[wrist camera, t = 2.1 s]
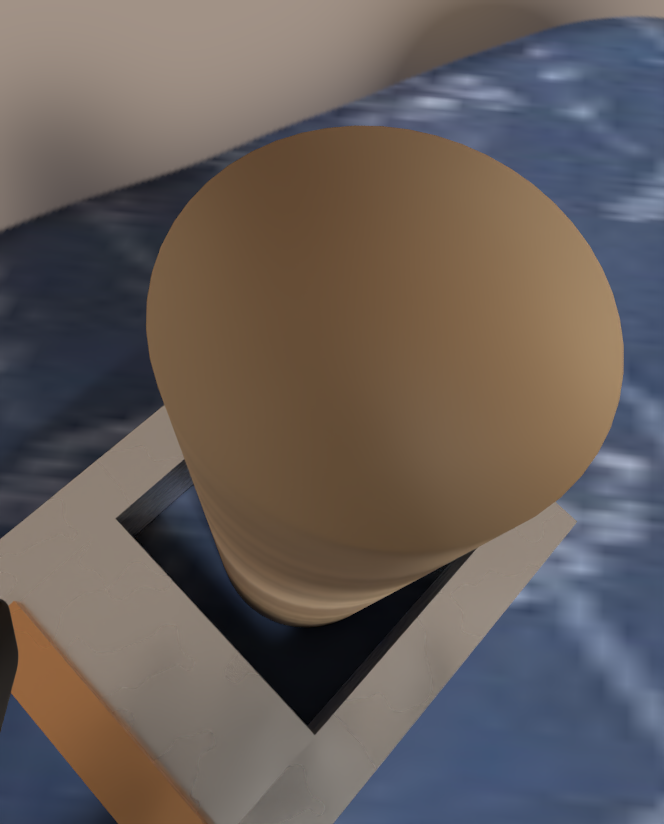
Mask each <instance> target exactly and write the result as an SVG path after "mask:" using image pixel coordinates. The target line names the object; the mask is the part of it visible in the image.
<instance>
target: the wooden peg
mask: <svg viewBox="0 0 664 824" xmlns="http://www.w3.org/2000/svg"><path fill="white" fill-rule="evenodd" d="M146 332H147V340H148V348H149V355H150V361H151V364H152V368H153V371H154V375H155V378H156V382H157V385H158V389H159V391H160V394H161V397H162V399H163V402H164V405H165V408H166V410H167V413H168V416H169V418H170V421H171V424H172V427H173V429H174V432H175V435H176V437H177V440H178V443H179V445H180V448H181V451H182V454H183V456H184V459H185V462H186V464H187V467H188V470H189V473H190V475H191V478H192V481H193V483H194V486H195V489H196V492H197V494H198V497H199V500H200V502H201V505H202V508H203V510H204V513H205V516H206V519H207V521H208V524H209V527H210V529H211V532H212V535H213V538H214V540H215V543H216V546H217V548H218V551H219V554H220V557H221V559H222V562H223V565H224V567H225V570H226V573H227V575H228V577H229V579H230V582H231V583H232V585H233V587H234V588H235V590H236V591H237V593H238V594H239V595H240V596H241V598H242V599H243V600H244V601H245V602H246V603H247V604H248V605H249V606H250V607H251V608H252V609H254V610H255V611H257V612H258V613H259V614H261V615H262V616H264V617H266V618H268V619H270V620H272V621H274V622H277V623H280V624H283V625H287V626H292V627H301V628H312V627H321V626H325V625H330V624H333V623H335V622H338V621H341V620H343V619H345V618H347V617H348V616H350V615H352V614H354V613H356V612H358V611H360V610H362V609H363V608H365V607H367V606H369V605H371V604H373V603H375V602H377V601H378V600H380V599H382V598H384V597H386V596H388V595H390V594H391V593H393V592H395V591H397V590H399V589H401V588H403V587H405V586H406V585H408V584H410V583H412V582H414V581H416V580H418V579H420V578H421V577H423V576H425V575H427V574H429V573H431V572H433V571H435V570H436V569H438V568H440V567H442V566H444V565H446V564H448V563H450V562H451V561H453V560H455V559H457V558H459V557H461V556H463V555H465V554H466V553H468V552H470V551H472V550H474V549H476V548H478V547H479V546H481V545H483V544H485V543H487V542H489V541H491V540H493V539H494V538H496V537H498V536H500V535H502V534H504V533H506V532H508V531H509V530H511V529H513V528H515V527H517V526H519V525H521V524H522V523H524V522H526V521H528V520H530V519H532V518H534V517H535V516H537V515H538V514H539V513H541V512H542V511H543V510H545V509H546V508H547V507H549V506H550V505H551V504H553V503H554V502H555V501H557V500H558V499H559V498H561V497H562V496H563V495H564V494H565V493H566V491H567V490H568V489H569V488H570V487H571V486H572V485H573V484H574V483H575V482H576V481H577V480H578V479H579V478H580V477H581V476H582V475H583V473H584V472H585V470H586V469H587V468H588V466H589V465H590V463H591V462H592V461H593V459H594V458H595V456H596V455H597V453H598V452H599V450H600V448H601V446H602V444H603V442H604V440H605V438H606V436H607V434H608V432H609V430H610V428H611V425H612V422H613V418H614V415H615V412H616V409H617V406H618V403H619V398H620V392H621V385H622V379H623V339H622V331H621V324H620V318H619V314H618V311H617V307H616V304H615V300H614V296H613V293H612V291H611V288H610V286H609V283H608V281H607V279H606V276H605V274H604V271H603V269H602V267H601V265H600V264H599V262H598V260H597V258H596V257H595V255H594V253H593V251H592V250H591V248H590V246H589V244H588V243H587V242H586V240H585V239H584V238H583V236H582V235H581V234H580V232H579V231H578V230H577V228H576V227H575V225H574V224H573V223H572V222H571V221H570V220H569V218H568V217H567V216H566V215H565V214H564V213H563V212H562V211H561V210H560V209H559V208H558V207H557V205H556V204H555V203H554V202H553V201H551V200H550V199H549V198H548V197H547V196H546V195H545V194H543V193H542V192H541V191H540V190H539V189H538V188H537V187H535V186H534V185H533V184H532V183H530V182H529V181H527V180H526V179H525V178H523V177H522V176H520V175H519V174H518V173H516V172H515V171H513V170H512V169H510V168H509V167H507V166H505V165H503V164H502V163H500V162H498V161H496V160H494V159H493V158H491V157H489V156H487V155H485V154H483V153H481V152H478V151H476V150H474V149H472V148H469V147H467V146H465V145H463V144H460V143H457V142H454V141H451V140H448V139H445V138H442V137H439V136H435V135H431V134H427V133H422V132H418V131H413V130H408V129H400V128H392V127H384V126H346V127H334V128H325V129H320V130H315V131H310V132H304V133H300V134H297V135H294V136H290V137H287V138H284V139H281V140H277V141H275V142H272V143H270V144H268V145H266V146H263V147H261V148H259V149H257V150H254V151H252V152H250V153H249V154H247V155H245V156H244V157H242V158H240V159H239V160H237V161H235V162H234V163H232V164H230V165H229V166H227V167H226V168H225V169H223V170H222V171H221V172H220V173H218V174H217V175H216V176H215V177H213V178H212V179H211V180H209V181H208V182H207V183H206V184H205V185H204V186H203V187H202V188H201V189H200V190H199V191H198V192H197V193H196V194H195V196H194V197H193V198H192V199H191V200H190V201H189V202H188V203H187V205H186V206H185V207H184V209H183V210H182V212H181V213H180V214H179V216H178V217H177V218H176V220H175V221H174V223H173V224H172V226H171V228H170V230H169V232H168V234H167V236H166V238H165V240H164V242H163V243H162V245H161V248H160V251H159V254H158V256H157V259H156V262H155V265H154V268H153V271H152V275H151V280H150V286H149V291H148V297H147V315H146Z"/></svg>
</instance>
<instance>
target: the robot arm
mask: <svg viewBox="0 0 664 824" xmlns="http://www.w3.org/2000/svg"><path fill="white" fill-rule="evenodd" d="M17 667H18V646H17V642H16V637H15V632H14V627H13V623H12V618H11V613H10V609H9V606H8V604H7V603H6V601H4V600H2V599H0V731H1V727H2V723H3V720H4V716H5V712H6V709H7V705H8V701H9V697H10V694H11V690H12V686H13V683H14V679H15V675H16V671H17Z"/></svg>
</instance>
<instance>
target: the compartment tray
mask: <svg viewBox="0 0 664 824" xmlns="http://www.w3.org/2000/svg"><path fill="white" fill-rule="evenodd" d="M193 484H194V483H193V481H192V478H191V475H190V473H189V470H188V467H187V464H186V462H185V459H184V456H183V454H182V451H181V448H180V445H179V443H178V440H177V437H176V435H175V432H174V429H173V427H172V424H171V421H170V418H169V416H168V413H167V410H166V408H165V405H164V406H163V407H161V408H160V409H159V410H158V411H156V412H155V413H154V414H153V415H152V416H150V417H149V418H148V419H147V420H145V421H144V422H143V423H142V424H141V425H139V426H138V427H137V428H136V429H134V430H133V431H132V432H131V433H130V434H128V435H127V436H126V437H125V438H123V439H122V440H121V441H120V442H119V443H117V444H116V445H115V446H114V447H112V448H111V449H110V450H109V451H107V452H106V453H105V454H104V455H103V456H101V457H100V458H99V459H98V460H96V461H95V462H94V463H93V464H92V465H90V466H89V467H88V468H87V469H85V470H84V471H83V472H82V473H81V474H79V475H78V476H77V477H76V478H74V479H73V480H72V481H71V482H70V483H68V484H67V485H66V486H65V487H63V488H62V489H61V490H60V491H59V492H57V493H56V494H55V495H54V496H52V497H51V498H50V499H49V500H48V501H46V502H45V503H44V504H43V505H41V506H40V507H39V508H38V509H37V510H35V511H34V512H33V513H32V514H30V515H29V516H28V517H27V518H25V519H24V520H23V521H22V522H21V523H19V524H18V525H17V526H16V527H14V528H13V529H12V530H11V531H10V532H8V533H7V534H6V535H5V536H3V537H2V538H1V539H0V599H2V600H4V601H6V603H7V604H8V606H9V609H10V613H11V618H12V623H13V627H14V632H15V637H16V642H17V646H18V667H17V671H16V675H15V679H14V683H13V686H12V690H11V693H12V695H13V696H14V697H15V698H16V699H17V701H18V702H19V703H20V704H21V706H22V707H23V708H24V709H25V710H26V712H27V713H28V714H29V715H30V717H31V718H32V719H33V720H34V721H35V723H36V724H37V725H38V726H39V728H40V729H41V730H42V731H43V732H44V734H45V735H46V736H47V737H48V739H49V740H50V741H51V742H52V743H53V745H54V746H55V747H56V748H57V750H58V751H59V752H60V753H61V754H62V756H63V757H64V758H65V759H66V761H67V762H68V763H69V764H70V765H71V767H72V768H73V769H74V770H75V772H76V773H77V774H78V775H79V776H80V778H81V779H82V780H83V781H84V783H85V784H86V785H87V786H88V787H89V789H90V790H91V791H92V792H93V794H94V795H95V796H96V797H97V798H98V800H99V801H100V802H101V803H102V805H103V806H104V807H105V808H106V809H107V811H108V812H109V813H110V814H111V816H112V817H113V818H114V819H115V820H116V822H117V823H118V824H333V823H334V822H335V820H336V819H337V818H338V817H339V815H340V814H341V813H342V812H343V810H344V809H345V808H346V807H347V806H348V804H349V803H350V802H351V801H352V799H353V798H354V797H355V796H356V794H357V793H358V792H359V791H360V789H361V788H362V787H363V786H364V785H365V783H366V782H367V781H368V780H369V778H370V777H371V776H372V775H373V773H374V772H375V771H376V770H377V768H378V767H379V766H380V765H381V764H382V762H383V761H384V760H385V759H386V757H387V756H388V755H389V754H390V752H391V751H392V750H393V749H394V747H395V746H396V745H397V744H398V743H399V741H400V740H401V739H402V738H403V736H404V735H405V734H406V733H407V731H408V730H409V729H410V728H411V726H412V725H413V724H414V723H415V722H416V720H417V719H418V718H419V717H420V715H421V714H422V713H423V712H424V710H425V709H426V708H427V707H428V705H429V704H430V703H431V702H432V700H433V699H434V698H435V697H436V696H437V694H438V693H439V692H440V691H441V689H442V688H443V687H444V686H445V684H446V683H447V682H448V681H449V679H450V678H451V677H452V676H453V675H454V673H455V672H456V671H457V670H458V668H459V667H460V666H461V665H462V663H463V662H464V661H465V660H466V658H467V657H468V656H469V655H470V654H471V652H472V651H473V650H474V649H475V647H476V646H477V645H478V644H479V642H480V641H481V640H482V639H483V637H484V636H485V635H486V634H487V633H488V631H489V630H490V629H491V628H492V626H493V625H494V624H495V623H496V621H497V620H498V619H499V618H500V616H501V615H502V614H503V613H504V612H505V610H506V609H507V608H508V607H509V605H510V604H511V603H512V602H513V600H514V599H515V598H516V597H517V595H518V594H519V593H520V592H521V591H522V589H523V588H524V587H525V586H526V584H527V583H528V582H529V581H530V579H531V578H532V577H533V576H534V574H535V573H536V572H537V571H538V569H539V568H540V567H541V566H542V565H543V563H544V562H545V561H546V560H547V558H548V557H549V556H550V555H551V553H552V552H553V551H554V550H555V548H556V547H557V546H558V545H559V544H560V542H561V541H562V540H563V539H564V537H565V536H566V535H567V534H568V532H569V531H570V530H571V529H572V527H573V526H574V525H575V524H576V523H577V521H576V520H575V519H574V518H572V517H571V516H570V515H569V514H568V513H567V512H566V511H565V510H564V509H562V508H561V507H560V506H559V505H558V504H557V503H556V502H554V503H553V504H551V505H550V506H549V507H547V508H546V509H545V510H543V511H542V512H541V513H539V514H538V515H537V516H535V517H534V518H532V519H530V520H528V521H526V522H524V523H522V524H521V525H519V526H517V527H515V528H513V529H511V530H509V531H508V532H506V533H504V534H502V535H500V536H498V537H496V538H494V539H493V540H491V541H489V542H487V543H485V544H483V545H481V546H479V547H478V548H476V549H474V550H472V551H470V552H468V553H466V554H465V555H463V556H461V557H459V558H457V559H455V560H453V561H451V562H450V564H449V565H448V566H447V567H446V568H445V569H444V570H443V572H442V573H441V574H440V575H439V576H438V577H437V578H436V579H435V581H434V582H433V583H432V584H431V585H430V586H429V587H428V589H427V590H426V591H425V592H424V593H423V594H422V595H421V597H420V598H419V599H418V600H417V601H416V602H415V603H414V605H413V606H412V607H411V608H410V609H409V610H408V611H407V613H406V614H405V615H404V616H403V617H402V618H401V619H400V621H399V622H398V623H397V624H396V625H395V626H394V627H393V629H392V630H391V631H390V632H389V633H388V634H387V635H386V637H385V638H384V639H383V640H382V641H381V642H380V643H379V644H378V646H377V647H376V648H375V649H374V650H373V651H372V652H371V654H370V655H369V656H368V657H367V658H366V659H365V660H364V662H363V663H362V664H361V665H360V666H359V667H358V668H357V670H356V671H355V672H354V673H353V674H352V675H351V676H350V678H349V679H348V680H347V681H346V682H345V683H344V684H343V686H342V687H341V688H340V689H339V690H338V691H337V692H336V694H335V695H334V696H333V697H332V698H331V699H330V700H329V701H328V703H327V704H326V705H325V706H324V707H323V708H322V709H321V711H320V712H319V713H318V714H317V715H316V716H315V717H314V719H313V720H312V721H311V722H310V723H309V724H308V725H306V723H305V722H304V721H303V720H302V719H301V718H300V717H299V716H298V715H297V714H296V713H295V712H294V710H293V709H292V708H291V707H290V706H289V705H288V704H287V703H286V702H285V701H284V700H283V699H282V697H281V696H280V695H279V694H278V693H277V692H276V691H275V690H274V689H273V688H272V687H271V685H270V684H269V683H268V682H267V681H266V680H265V679H264V678H263V677H262V676H261V675H260V674H259V672H258V671H257V670H256V669H255V668H254V667H253V666H252V665H251V664H250V663H249V662H248V661H247V659H246V658H245V657H244V656H243V655H242V654H241V653H240V652H239V651H238V650H237V649H236V648H235V646H234V645H233V644H232V643H231V642H230V641H229V640H228V639H227V638H226V637H225V636H224V634H223V633H222V632H221V631H220V630H219V629H218V628H217V627H216V626H215V625H214V624H213V623H212V621H211V620H210V619H209V618H208V617H207V616H206V615H205V614H204V613H203V612H202V611H201V610H200V608H199V607H198V606H197V605H196V604H195V603H194V602H193V601H192V600H191V599H190V598H189V597H188V595H187V594H186V593H185V592H184V591H183V590H182V589H181V588H180V587H179V586H178V585H177V584H176V582H175V581H174V580H173V579H172V578H171V577H170V576H169V575H168V574H167V573H166V572H165V570H164V569H163V568H162V567H161V566H160V565H159V564H158V563H157V562H156V561H155V560H154V559H153V557H152V556H151V555H150V554H149V553H148V552H147V551H146V550H145V549H144V548H143V547H142V546H141V544H140V543H139V542H138V541H137V540H136V539H135V538H134V536H136V535H137V534H138V533H139V532H140V531H141V530H142V529H143V528H145V527H146V526H147V525H148V524H149V523H150V522H151V521H152V520H154V519H155V518H156V517H157V516H158V515H159V514H160V513H161V512H163V511H164V510H165V509H166V508H167V507H168V506H169V505H170V504H172V503H173V502H174V501H175V500H176V499H177V498H178V497H179V496H181V495H182V494H183V493H184V492H185V491H186V490H187V489H188V488H190V487H191V486H192V485H193Z"/></svg>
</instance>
